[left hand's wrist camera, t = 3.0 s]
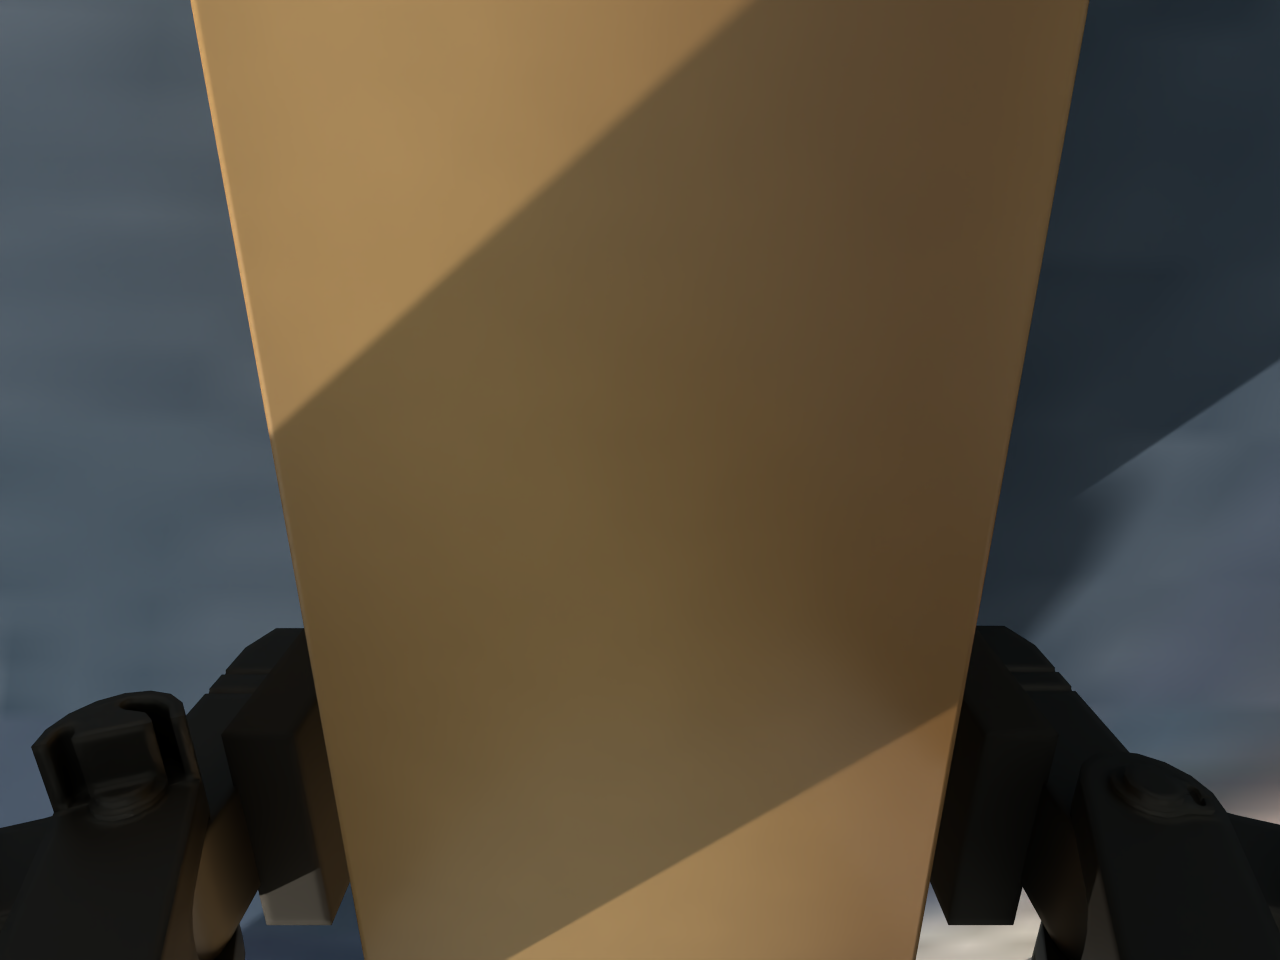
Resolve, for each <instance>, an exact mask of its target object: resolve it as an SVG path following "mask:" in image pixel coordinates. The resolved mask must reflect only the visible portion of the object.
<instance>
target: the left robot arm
mask: <svg viewBox="0 0 1280 960" xmlns="http://www.w3.org/2000/svg"><path fill="white" fill-rule="evenodd" d="M209 690H210V691H209V694H205V695H204V696H203V697H202V698H201V699H200V700H199V701H198V703H197V704H196V705H195V706H194V707H193V708H192V709H191V711H190V712H189V713H188V714H187V715H186V714H185V710H184V706H183V703H182V702H181V701H180V700H178V699H177V698H176V697H174V696H173V695H172V694H168V693H162V692H156V691H143V692H133V693H124V694H121V695H117V696H113V697H110V698H106V699H103V700H99V701H96V702H94V703H92V704H89V705H87V706H85V707H83V708H81V709H78V710H76V711H74V712H72V713H70V714H68V715H66V716H65V717H64V718H62V719H61V720H59V721H58V722H56V723H55V724H53V725H52V726H50V727H49V728H48V729H46V730H45V731H44V732H43V734H42V735H41V736H40V737H39V738H38V739H37V741H36V742H35V743H34V744H33V745H32V746H31V748H32V751H33V754H34V756H35V759H36V762H37V765H38V768H39V771H40V773H41V776H42V779H43V782H44V785H45V788H46V791H47V793H48V796H49V799H50V802H51V805H52V808H53V811H54V814H53V816H51V817H47V818H44V819H39V820H35V821H30V822H26V823H21V824H17V825H12V826H8V827H3V828H0V960H245V948H244V942H243V936H242V932H241V928H240V924H239V923H240V921H241V919H242V918H243V916H244V914H245V912H246V910H247V909H248V907H249V905H250V903H251V901H252V899H253V898H254V896H255V894H256V892H257V890H258V891H259V895H260V899H261V903H262V907H263V912H264V916H265V920H266V924H267V925H332V923H333V920H334V918H335V915H336V913H337V911H338V908H339V906H340V904H341V901H342V899H343V897H344V894H345V892H346V890H347V887H348V885H349V882H350V877H349V872H348V866H347V861H346V855H345V850H344V844H343V839H342V833H341V828H340V822H339V817H338V811H337V806H336V800H335V795H334V789H333V784H332V778H331V773H330V767H329V761H328V756H327V750H326V745H325V739H324V734H323V728H322V723H321V717H320V712H319V706H318V701H317V695H316V690H315V684H314V679H313V673H312V668H311V662H310V657H309V651H308V646H307V640H306V635H305V629H304V628H276V629H274V630H273V631H271V632H270V633H268V634H266V635H265V636H263V637H262V638H260V639H258V640H257V641H255V642H254V643H252V644H251V645H249V646H247V647H246V648H245V649H244V650H243V651H242V652H241V653H240V655H239V656H238V657H237V658H236V659H235V660H234V661H233V663H232V664H231V665H230V666H229V667H228V668H227V669H226V674H225V675H221V676H220V677H219V679H218V680H217V681H216V682H215V683H214V684H213V685H212V687H211V688H210V689H209ZM930 882H931V885H932V887H933V889H934V892H935V894H936V897H937V899H938V901H939V904H940V906H941V908H942V911H943V913H944V915H945V918H946V920H947V923H948V925H1013V924H1014V920H1015V916H1016V912H1017V907H1018V903H1019V899H1020V895H1021V891H1022V887H1023V888H1024V890H1025V892H1026V894H1027V896H1028V897H1029V899H1030V901H1031V903H1032V905H1033V906H1034V908H1035V910H1036V912H1037V914H1038V915H1039V917H1040V919H1041V924H1040V928H1039V932H1038V936H1037V940H1036V944H1035V947H1034V951H1033V955H1032V959H1031V960H1280V825H1279V824H1274V823H1269V822H1265V821H1260V820H1256V819H1251V818H1247V817H1242V816H1238V815H1234V814H1231V813H1227V812H1226V811H1225V809H1224V808H1223V807H1222V805H1221V804H1220V802H1219V801H1218V800H1217V798H1216V797H1215V795H1214V794H1213V793H1212V792H1211V791H1210V790H1208V789H1207V788H1206V787H1204V786H1203V785H1202V784H1201V783H1199V782H1198V781H1197V780H1196V779H1194V778H1193V777H1192V776H1190V775H1188V774H1186V773H1185V772H1183V771H1181V770H1179V769H1177V768H1175V767H1173V766H1171V765H1169V764H1167V763H1165V762H1162V761H1159V760H1156V759H1153V758H1150V757H1147V756H1143V755H1140V754H1136V753H1129V751H1128V750H1127V749H1126V748H1125V747H1124V746H1123V745H1122V743H1121V742H1120V741H1119V740H1118V739H1117V738H1116V737H1115V736H1114V734H1113V733H1112V732H1111V731H1110V730H1109V729H1108V728H1107V726H1106V725H1105V724H1104V723H1103V722H1102V721H1101V720H1100V718H1099V717H1098V716H1097V715H1096V714H1095V713H1094V712H1093V711H1092V709H1091V708H1090V707H1089V706H1088V705H1087V704H1086V703H1085V701H1084V700H1083V699H1082V698H1081V697H1080V696H1079V695H1078V693H1077V692H1076V691H1072V690H1071V686H1070V684H1069V683H1068V682H1067V681H1066V680H1065V679H1064V678H1063V676H1062V675H1061V674H1060V673H1059V672H1055V667H1054V666H1053V665H1052V664H1051V663H1050V662H1049V661H1048V659H1047V658H1046V657H1045V656H1044V655H1043V654H1042V653H1041V651H1040V650H1039V649H1038V648H1037V647H1036V646H1035V645H1034V644H1032V643H1031V642H1029V641H1028V640H1026V639H1024V638H1023V637H1021V636H1020V635H1018V634H1016V633H1015V632H1013V631H1012V630H1010V629H1008V628H1007V627H1005V626H976V629H975V634H974V640H973V645H972V651H971V656H970V662H969V667H968V673H967V678H966V684H965V689H964V695H963V700H962V706H961V711H960V717H959V722H958V728H957V733H956V739H955V744H954V750H953V756H952V761H951V767H950V772H949V778H948V783H947V789H946V794H945V800H944V805H943V811H942V816H941V822H940V827H939V833H938V838H937V844H936V849H935V855H934V860H933V866H932V871H931V877H930Z"/></svg>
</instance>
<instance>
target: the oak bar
mask: <svg viewBox="0 0 1280 960" xmlns="http://www.w3.org/2000/svg"><path fill="white" fill-rule="evenodd" d="M191 5H192V11H193V16H194V22H195V27H196V33H197V38H198V44H199V50H200V55H201V61H202V66H203V72H204V77H205V83H206V88H207V94H208V99H209V105H210V110H211V116H212V121H213V127H214V132H215V138H216V143H217V149H218V154H219V160H220V165H221V171H222V176H223V182H224V188H225V193H226V199H227V204H228V210H229V215H230V221H231V226H232V232H233V237H234V243H235V248H236V254H237V259H238V265H239V270H240V276H241V281H242V287H243V292H244V298H245V303H246V309H247V314H248V320H249V325H250V331H251V337H252V342H253V348H254V353H255V359H256V364H257V370H258V375H259V381H260V386H261V392H262V397H263V403H264V408H265V414H266V419H267V425H268V430H269V436H270V441H271V447H272V452H273V458H274V463H275V469H276V474H277V480H278V486H279V491H280V497H281V502H282V508H283V513H284V519H285V524H286V530H287V535H288V541H289V546H290V552H291V557H292V563H293V568H294V574H295V579H296V585H297V590H298V596H299V601H300V607H301V612H302V618H303V624H304V629H305V635H306V640H307V646H308V651H309V657H310V662H311V668H312V673H313V679H314V684H315V690H316V695H317V701H318V706H319V712H320V717H321V723H322V728H323V734H324V739H325V745H326V750H327V756H328V761H329V767H330V773H331V778H332V784H333V789H334V795H335V800H336V806H337V811H338V817H339V822H340V828H341V833H342V839H343V844H344V850H345V855H346V861H347V866H348V872H349V877H350V883H351V888H352V894H353V899H354V905H355V910H356V916H357V922H358V927H359V933H360V938H361V944H362V949H363V955H364V960H916V954H917V949H918V943H919V938H920V932H921V927H922V921H923V916H924V910H925V905H926V899H927V894H928V888H929V883H930V877H931V871H932V866H933V860H934V855H935V849H936V844H937V838H938V833H939V827H940V822H941V816H942V811H943V805H944V800H945V794H946V789H947V783H948V778H949V772H950V767H951V761H952V756H953V750H954V744H955V739H956V733H957V728H958V722H959V717H960V711H961V706H962V700H963V695H964V689H965V684H966V678H967V673H968V667H969V662H970V656H971V651H972V645H973V640H974V634H975V629H976V623H977V618H978V612H979V606H980V601H981V595H982V590H983V584H984V579H985V573H986V568H987V562H988V557H989V551H990V546H991V540H992V535H993V529H994V524H995V518H996V513H997V507H998V502H999V496H1000V491H1001V485H1002V479H1003V474H1004V468H1005V463H1006V457H1007V452H1008V446H1009V441H1010V435H1011V430H1012V424H1013V419H1014V413H1015V408H1016V402H1017V397H1018V391H1019V386H1020V380H1021V375H1022V369H1023V364H1024V358H1025V353H1026V347H1027V341H1028V336H1029V330H1030V325H1031V319H1032V314H1033V308H1034V303H1035V297H1036V292H1037V286H1038V281H1039V275H1040V270H1041V264H1042V259H1043V253H1044V248H1045V242H1046V237H1047V231H1048V226H1049V220H1050V215H1051V209H1052V203H1053V198H1054V192H1055V187H1056V181H1057V176H1058V170H1059V165H1060V159H1061V154H1062V148H1063V143H1064V137H1065V132H1066V126H1067V121H1068V115H1069V110H1070V104H1071V99H1072V93H1073V88H1074V82H1075V76H1076V71H1077V65H1078V60H1079V54H1080V49H1081V43H1082V38H1083V32H1084V27H1085V21H1086V16H1087V10H1088V5H1089V0H191Z"/></svg>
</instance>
